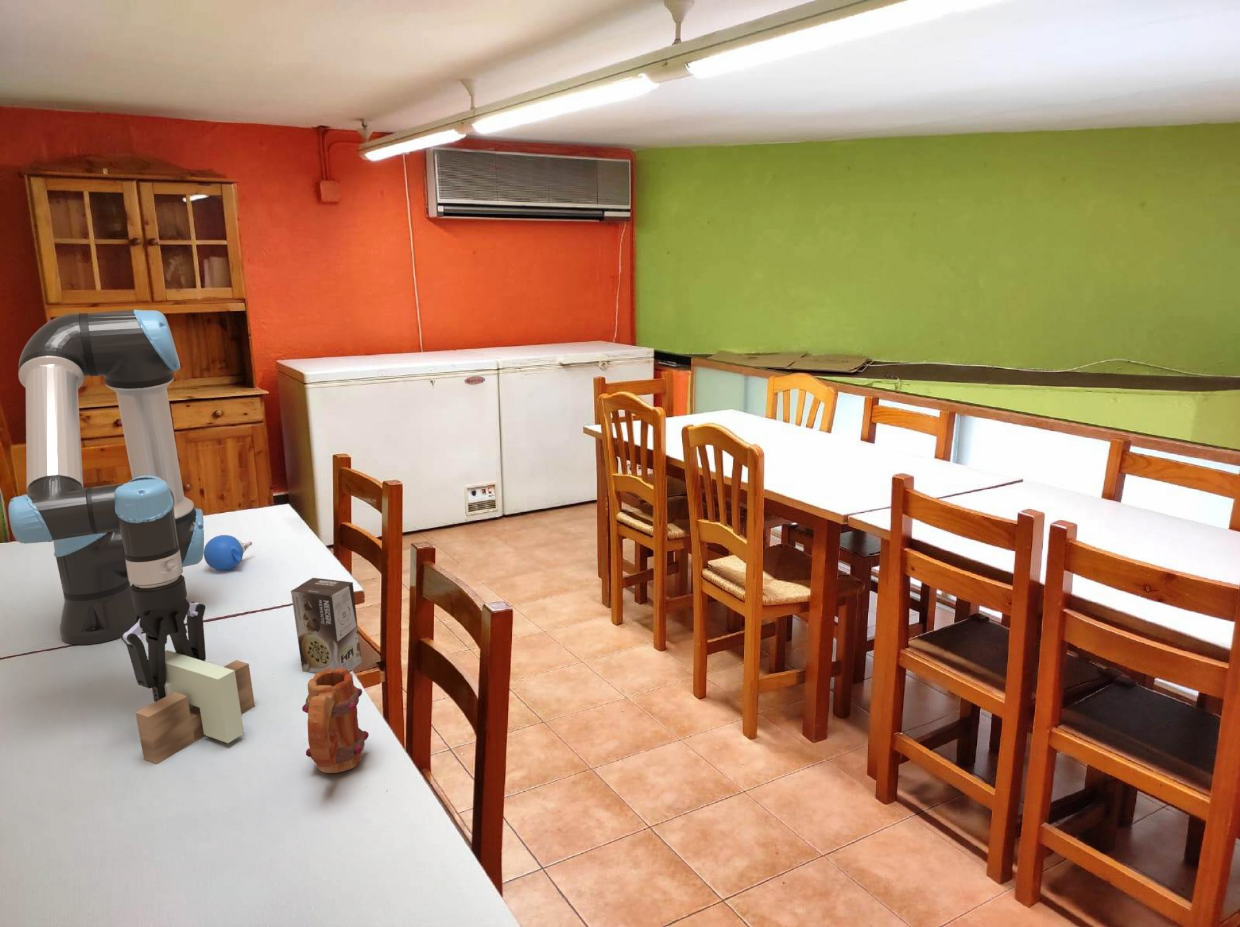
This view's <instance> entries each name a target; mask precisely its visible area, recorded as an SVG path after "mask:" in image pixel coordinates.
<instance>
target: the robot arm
mask: <svg viewBox="0 0 1240 927" xmlns="http://www.w3.org/2000/svg"><path fill="white" fill-rule="evenodd" d="M180 369H181V364H180V360H179V355H178V353H177V349H176V345H175V341H174V337H173V335H172V331H171V329H170V324H169V323H168V320H167V318H166V316H165V315H164V314H163V313H162V312H161V311H158V310H153V309H152V310H145V309H144V310H142V309H130V310H128V309H127V310H125V309H124V310H113V311H112V310H111V311H97V312H96V311H95V312H73V313H72V312H71V313H67V314H63V315H60V316H57V317H55V318H53V319H51V320H49V321H48V322H46V323H44V325H42V326H41V327H40V328H38V330H37V331H35V333H33V335H32V336H31V337H30V339H28V341H27V342H26V344H25V346H24V348H23V349H22V352H21V354H20V357H19V361H18V381H19V382H20V384H21V385H22V386H23V387H24V388H25V430H26V431H25V434H26V435H25V440H26V441H25V445H26V450H25V452H26V453H25V454H26V459H25V460H26V469H25V470H26V494H22V495H19V496H14V497H13V498H11V499H10V501H9V504H8V519H9V520H8V521H9V525H10V528H11V532H12V535H13V537H14V539H15V541H16V542H18V543H20V544H24V545H25V544H38V543H52V542H53V548H54V553H53V556H54V557H55V560H56V563H57V564H56V565H57V568H58V573H59V579H60V583H61V584H60V585H61V589H62V594H63V599H64V602H63V608H62V612H61V617H60V618H61V619H60V624H59V632H60V637H61V640H62V641H63V642H64V643H66V644H71V645H77V646H78V645H93V644H102V643H104V642H110V641H114V640H117V639H121V641H122V642H123V643H124V644H125V645H126V648H127V652H128V655H129V658H130V662H131V666H132V669H133V673H134V675H135V680H136V684H137V685H138V686H140V687H144V688H147V689H151V691H152V695H153V696H152V697H153V701H154V702H156V701H158V700H160V699H162V698H164V697H166V696H168V695H170V694H172V687H171V683H168V682H166V672H165V651H166V644H168V636H170V639H171V640H170V641H171V643H172V646H173V648H174V652H175V653H179V654H182V655H185V656H189V657H192V658H195V659H198V660H202V661H205V662H206V660H207V658H206V655H207V654H206V653H207V652H206V642H205V630H204V629H205V628H204V616H205V610H206V605H205V604H204V603H199V602H196V601H192V602H189V600H188V599H187V597H188V592H187V585H186V579H185V578H186V577H185V576H184V575H183V572H184V569H183V568H185V567H189V566H193V565H197V564H199V563H201V562H202V560H203V559H204V548H205V530H204V527H205V526H204V522H205V521H204V512H203V510H202V509H201V508H195V506H194V505H195V504H194V501H193V500H191V499H189V498H188V497H186V496H185V494H184V488H183V487H184V486H183V480H182V475H181V474H182V473H181V469H180V463H179V456H178V450H177V443H176V438H175V432H174V426H173V419H172V413H171V407H170V401H169V400H170V399H169V394H168V387H169V385H170V384H171V383H172V382H174V379H175V376H174V372H177V371H179V370H180ZM102 376H103V380H104V384H105V386H106V387H107V388H108V389H110V390H112V391H114V392H115V394H116V399H117V404H118V409H119V415H120V421H121V426H122V430H123V431H122V432H123V436H124V437H123V438H124V442H125V447H126V452H127V458H128V462H129V463H128V464H129V470H130V473H131V480H129V481H128V482H124V483H116V484H115V483H114V484H107V485H101V486H100V485H99V486H90V487H84V477H83V463H82V462H83V460H82V442H81V440H82V438H81V423H80V405H79V389H80V388H81V387H82V385H83V383H84V381H85V379H84V378H86V377H102ZM185 620H186V624H185ZM142 632H144V634H145V641H146V644H147V650H146V647H145V644H144V643H143V641H142V640H143V638H144V637H143V635H142Z"/></svg>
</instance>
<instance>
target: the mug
mask: <svg viewBox="0 0 1240 927" xmlns="http://www.w3.org/2000/svg"><path fill="white" fill-rule="evenodd" d="M307 691H308V692H307V694H308V695H307V697H306V698H305V703H304V704H303V705H302V707H301V710H302V712H304V713H306V714H307V742H308V746H309V747H308V748H307V749H306V751H305V756H307V757H308V758H311V760H312V761H313V762H314V763H315V765H316V768H317V770H319V771H321V772H322V773H326V774H330V773H331V774H333V773H334V774H337V773H343V772H346V771H349V770H351V769H355V767H357V766H358V765H359V764H360V762H361V760H362V752H363V750H364V749H365V744H366V743H365V742H366V741H367V740H368V738H369V735H370V734H369V731H366V730H362V729H361V728H360V726H359V720H358V704H359V702H360V697H361V695H362V694H363V689H362V688H358V687H357V686H356V685H355V683H354V678H353V674H352V673H351V671H350V672H349V671H348V670H346V669H341V668H335V669H334V670H332V671H331V670H330V669H329V668H328V669H326V670H323V671H321V672H318V673H314V675H313V677H312V678H310V679H309V680H308V682H307Z"/></svg>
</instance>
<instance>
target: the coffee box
mask: <svg viewBox="0 0 1240 927" xmlns="http://www.w3.org/2000/svg"><path fill="white" fill-rule="evenodd" d="M354 590H355V589H354V581H353V582H351V581H346V580H335V579H328V578H327V579H326V578H317V577H312V578H309V579H308V580H306V581H304V582H303V583H302V584H300V585H298V586H297V587H295V588H294V589H291V590H290V594H291V600H292V606H293V607H292V608H293V614H294V620H295V621H294V622H295V628H296V630H295V631H296V635H297V642H298V643H297V644H298V648H299V649H298V651H299V657H300V664H301V670H302V672H308V673H314V674H316V673H318V672H321V671H323V670H326V669H328V668H329V669H330V670H331V671H332V670H334V669H335V668H341V669H346V670H348V671H349V672H350V673H351V671H352V670H353V669H355V668H357V666H359V665H361V663H362V656H361V655H362V653H361V646H360V635H359V627H358V626H359V625H358V618H357V608H356V600H355V591H354Z"/></svg>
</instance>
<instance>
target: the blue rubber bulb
mask: <svg viewBox="0 0 1240 927" xmlns="http://www.w3.org/2000/svg"><path fill="white" fill-rule="evenodd" d="M252 545H253V542H252V541H248V542H242V541H241V540H239V539H237V538H236V537H234V536H232V535H228V534H221V535H217V536H214V537H213V538H211V539H210V540H208V541H207V542H206V545H204V553H203V559H204V560H205V562H206V564H207V565H208V566H209V567H210V568H212V569H213V570H216V571H221V572H222V571H229V570H232V569H235V567H237V566H238V565H239V564H240V563H242V561H243V556H244V554H245V552H246V551H247V550H248V548H249V547H250V546H252Z"/></svg>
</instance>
